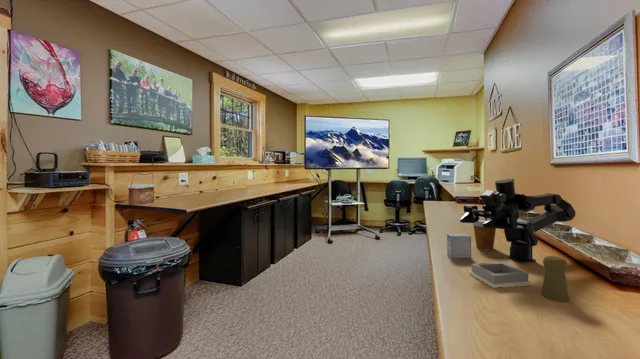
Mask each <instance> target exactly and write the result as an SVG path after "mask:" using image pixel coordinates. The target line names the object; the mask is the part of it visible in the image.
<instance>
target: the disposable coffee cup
mask: <svg viewBox="0 0 640 359" xmlns="http://www.w3.org/2000/svg"><path fill="white" fill-rule="evenodd" d="M485 222H486V219H485V218H479V220H478V222H474V223H472V225H473V231H474V240H475V246H476V248H477V249H479V250H483V251H484V250H485V251H486V250H487V251H491V250H494V246H495V245H494V244H495V238H496V230H497V228H488V227H483V223H485Z"/></svg>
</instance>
